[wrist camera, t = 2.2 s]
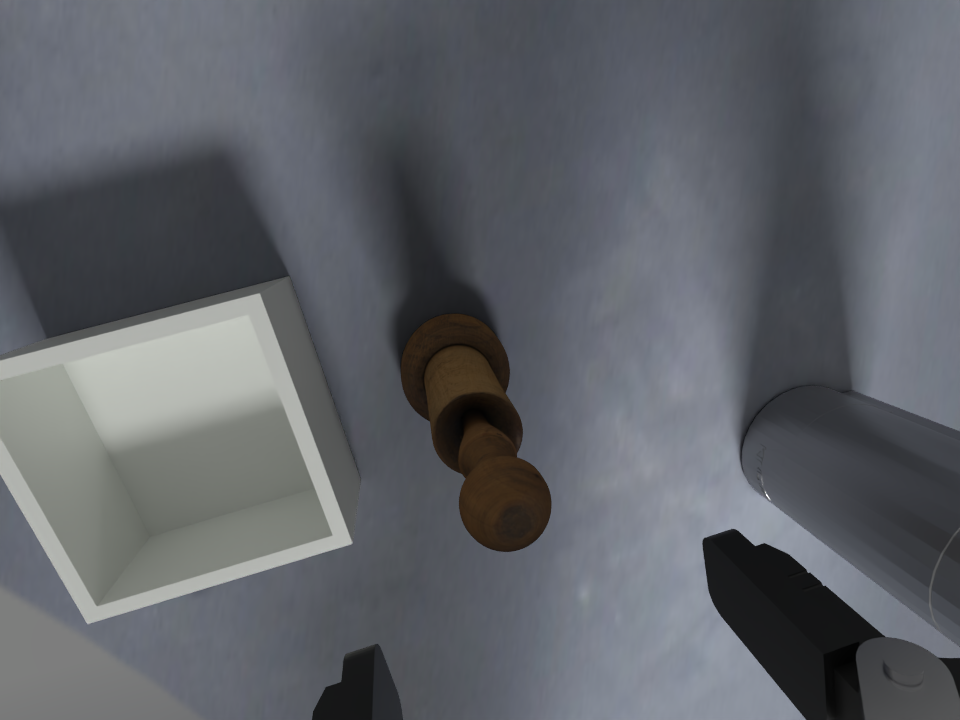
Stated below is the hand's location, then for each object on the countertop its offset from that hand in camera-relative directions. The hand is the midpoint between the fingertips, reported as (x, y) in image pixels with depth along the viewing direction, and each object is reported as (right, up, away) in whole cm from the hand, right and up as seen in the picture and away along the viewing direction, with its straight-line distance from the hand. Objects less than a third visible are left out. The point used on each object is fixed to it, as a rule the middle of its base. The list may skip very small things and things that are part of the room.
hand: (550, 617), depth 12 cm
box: (-17, +3, +19) cm, 26 cm away
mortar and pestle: (-3, +6, +21) cm, 22 cm away
